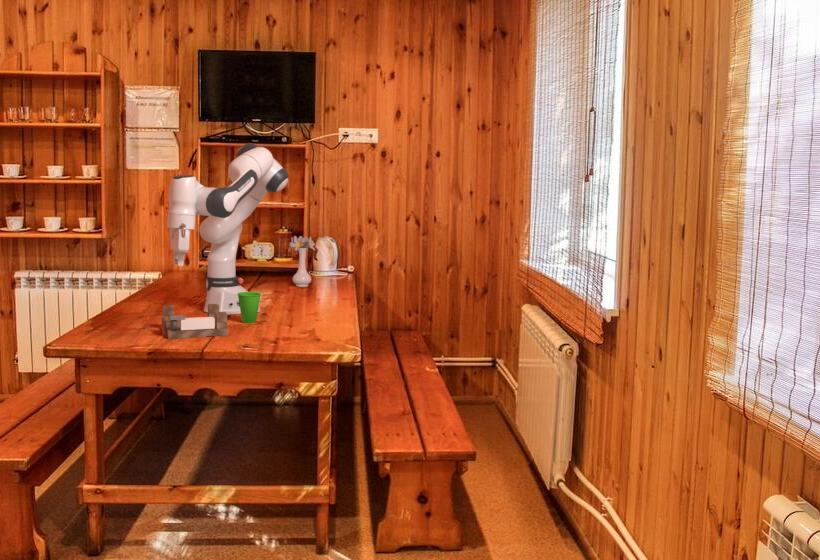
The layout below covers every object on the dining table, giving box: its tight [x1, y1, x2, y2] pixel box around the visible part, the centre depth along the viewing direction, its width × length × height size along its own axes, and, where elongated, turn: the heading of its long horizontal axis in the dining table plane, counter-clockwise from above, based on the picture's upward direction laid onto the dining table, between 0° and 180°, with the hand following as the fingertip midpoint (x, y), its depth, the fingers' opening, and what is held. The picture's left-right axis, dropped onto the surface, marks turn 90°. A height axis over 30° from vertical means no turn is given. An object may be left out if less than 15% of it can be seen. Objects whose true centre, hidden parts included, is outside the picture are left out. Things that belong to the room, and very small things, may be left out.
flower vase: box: [288, 235, 316, 288], centre depth 393 cm, size 13×18×25 cm
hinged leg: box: [170, 314, 215, 330], centre depth 275 cm, size 15×4×5 cm, turn 113°
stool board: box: [161, 304, 229, 340], centre depth 283 cm, size 21×20×8 cm
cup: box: [237, 291, 262, 324], centre depth 302 cm, size 9×9×11 cm
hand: (178, 265), depth 264 cm, fingers open, 8 cm apart
